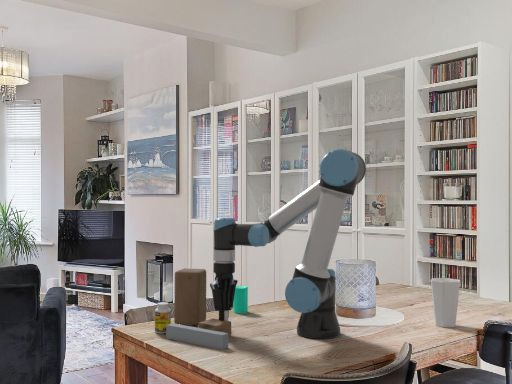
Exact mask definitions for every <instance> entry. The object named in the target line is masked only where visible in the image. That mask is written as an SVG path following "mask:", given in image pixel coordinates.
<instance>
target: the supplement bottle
mask: <svg viewBox="0 0 512 384" xmlns="http://www.w3.org/2000/svg"><path fill="white" fill-rule="evenodd" d="M156 306H157V307H156V308H155V310H154V332H155V333H156V334H161V335H164V333H165V334H166V325H168V324H172V323H171V322H172V321H171V319H172V309H171V308H170V306H169V302H164V301H163V302H161V301H160V302H157V305H156Z"/></svg>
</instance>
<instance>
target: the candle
mask: <svg viewBox="0 0 512 384" xmlns="http://www.w3.org/2000/svg"><path fill="white" fill-rule="evenodd" d="M248 296H249V287H248V285H240V286H239V285H236V289H235V295H234V302H233V307H232V308H233V311H232V312H233V313H235V314H246V313H247V314H248V312H249V311H248V308H249V307H248V306H249V303H248V302H249V297H248Z"/></svg>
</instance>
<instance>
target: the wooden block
mask: <svg viewBox="0 0 512 384" xmlns="http://www.w3.org/2000/svg"><path fill="white" fill-rule="evenodd" d="M173 303H174V307H173V308H174V310H173V311H174V318H173V319H174V321H173V323H174V324H180V325H185V326H198V323H199V322H203V321H206V319H207V270H206V269H205V268H182V269H180V270H177V271H175V272H174V302H173Z"/></svg>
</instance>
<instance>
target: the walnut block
mask: <svg viewBox="0 0 512 384" xmlns="http://www.w3.org/2000/svg"><path fill="white" fill-rule="evenodd" d="M197 326H198V327H197V328H202V329H207V330H213V331H218V332H224V333H228V338H229V337H231V336H232V321H230V320H228V321H225V320H223V321H221V320H219V318H210V319H207V320H205V321H203V322H199V323H198V325H197Z"/></svg>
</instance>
